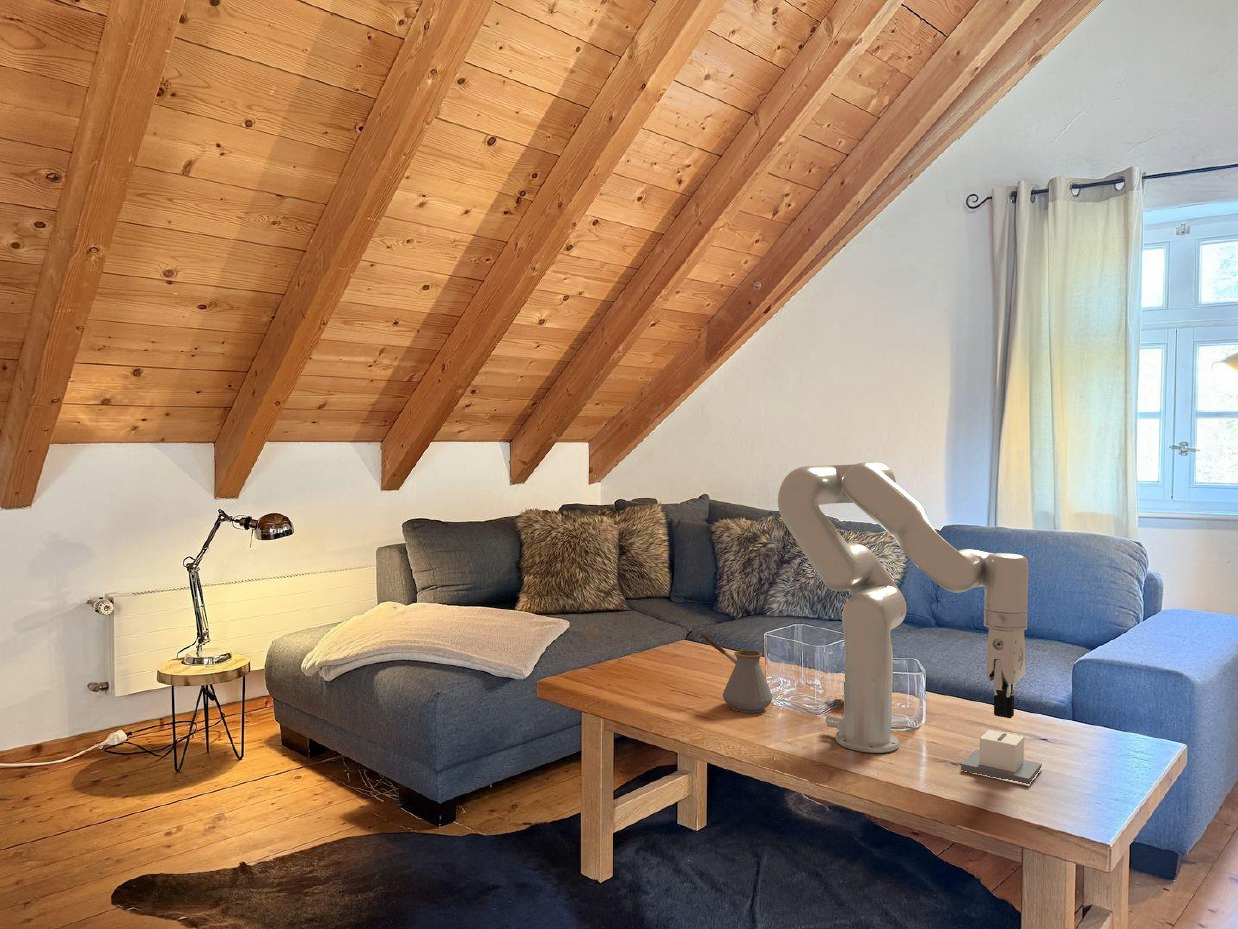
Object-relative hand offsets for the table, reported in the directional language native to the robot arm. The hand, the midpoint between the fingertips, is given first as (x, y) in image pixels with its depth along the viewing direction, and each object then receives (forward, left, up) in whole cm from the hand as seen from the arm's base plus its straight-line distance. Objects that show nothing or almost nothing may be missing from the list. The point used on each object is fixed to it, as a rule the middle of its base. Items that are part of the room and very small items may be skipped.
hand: (1003, 716), depth 170 cm
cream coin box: (0, 0, -9) cm, 9 cm away
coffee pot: (-62, +6, -11) cm, 63 cm away
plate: (0, 0, -11) cm, 11 cm away
